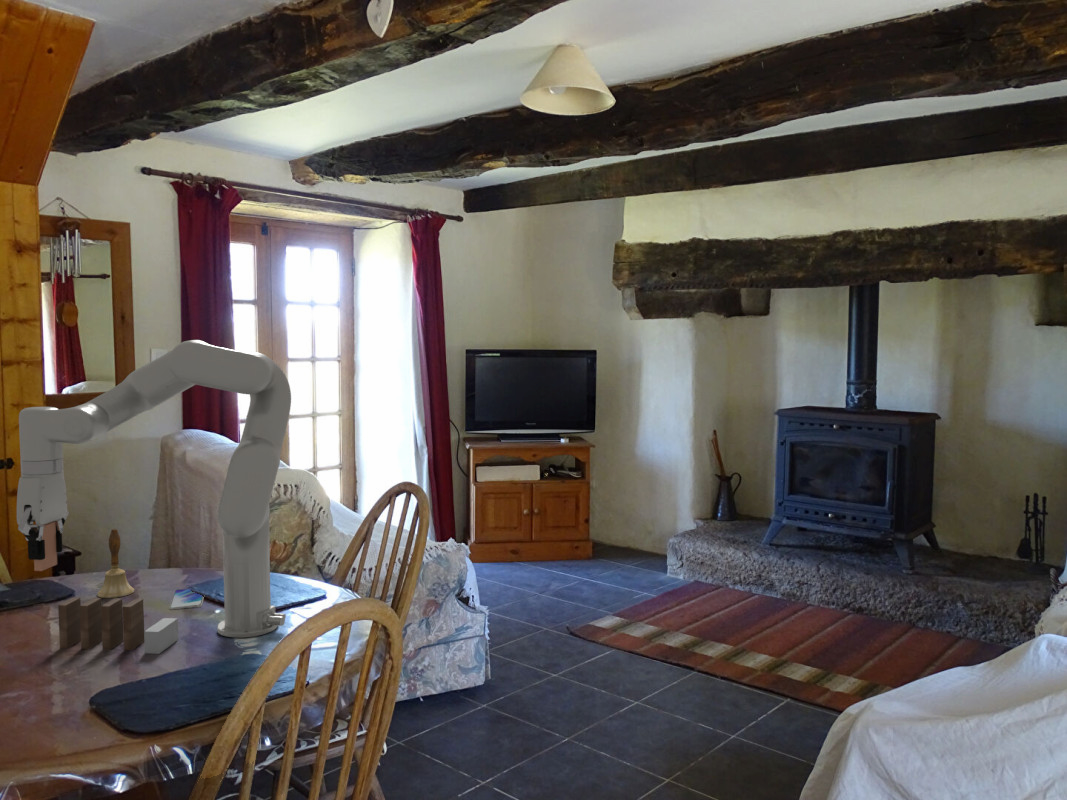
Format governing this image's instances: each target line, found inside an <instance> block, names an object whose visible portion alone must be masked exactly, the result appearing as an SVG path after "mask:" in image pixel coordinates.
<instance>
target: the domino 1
mask: <svg viewBox="0 0 1067 800" xmlns="http://www.w3.org/2000/svg"><path fill="white" fill-rule="evenodd" d="M33 529H34V530H35V531H36V532H37V528H33ZM42 540H45V559H43V560H33V567H34V569H33V570H34V572H43V571H45V570H47V569H49V568H51V567H54V566H57V565H58V553H57V552H56V523H55V522H51V523H48V524H45V525H44V529H43V537H42Z"/></svg>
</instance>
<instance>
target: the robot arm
mask: <svg viewBox="0 0 1067 800" xmlns="http://www.w3.org/2000/svg"><path fill="white" fill-rule="evenodd" d="M194 386H201V387H207V388H211V389H212V388H213V389H216V390H221V391H227V392H230V393H237V394H242V395H249V399H250V400H249V401H250V402H249V407H248V410H247V415H246V419H245V423H244V427H243V432H242V435H241V438H240V441H239V443H238V445H237V447H236V448H235V449H234V451H233V452H232V454H231V457H230V460H229V463H228V467H227V470H226V471H227V472H226V475H225V480H224V483H223V487H222V491H221V496H220V499H219V502H218V507H217V512H216V518H217V519H216V520H217V523H218V525H219V527H220V529H221V531H222V555H223V557H222V559H223V560H222V561H223V562H222V563H223V564H222V565H223V567H222V568H223V597H224V598H223V599H224V600H223V602H224V603H223V604H224V620H222V621H220V622H219V623H218V624H217V629H216V630H217V633H218V634H219V635H221V636H224V637H227V638H234V639H235V638H238V639H240V638H241V639H243V638H252V637H258V636H262V635H266V634H268V633H271V632H273V631H275V630H276V629H277V628H278V627H279V626H281V627H283V626H284V625H285V623H286V622H285V621H286V614H285V613H281V612H280V613H277V612H276V606H275V605H272V604H271V564H270V563H271V562H270V560H271V559H270V555H271V554H270V553H271V552H270V551H271V550H270V549H271V546H270V541H271V540H270V522H271V521H270V516H271V515H270V514H271V512H270V511H271V509H270V502H271V498H272V494H273V491H274V490H273V489H274V487H275V482H276V479H277V474H278V470H279V468H280V464H281V454H282V448H283V443H284V440H285V436H286V432H287V428H288V427H287V426H288V423H289V417H290V413H291V406H292V392H291V386H290V383H289V381H288V378H287V375H286V374H285V373H284V371H283V370H282V368H281V367H280V366H279V364H277V363H276V362H275V361H274V360H273V359H272V358H270V357H269V356H267V355H266V354H264V353H262V352H261V353H260V352H257V351H249V352H246V351H241V350H236V349H230V348H226V347H222V346H221V347H220V346H217V345H216V346H215V345H213V344H209V343H208V342H205V341H203V340H200V339H191V340H185V341H182V342H180V343H178V344H177V345H176V346H174V348H173V349H172V350H169V351H168V352H166V353H164V354H163V355H161V356H159V357H157V358H155V359H154V360H151V361H150V362H147V363H146V364H144V365H142V366H141V367H139V368H137V369H134V370H133V371H132V372H131V373H129V374H128V375H127V376H126V377H125V379H123V381H122V382H120V383H119V384H117V385H115V386H114V387H112V388H111V389H109V390H107V391H106V392H104V393H101V394H100V395H98V396H96V397H93V399H91V400H89V401H87V402H85V403H83V404H79V405H76V406H72V407H68V408H67V407H66V408H60V409H59V408H57V407H54V406H31V407H25V408H23V409H21V410H20V412H19V414H18V426H19V429H18V430H19V450H20V451H19V453H20V477H19V480H18V486H17V493H16V494H17V495H16V523H17V525H18V527H17V530H18V531H19V532H20V533H22V534H23V536H24V537H25V540H26V541H27V558H28V560H31V561H32V560H33V561H34V560H43V559H45V540H42V537H43V529H44V525H45V524H48V523H51V522H55V523H56V552H57V554H59V553H61V552H63V532H64V525H65V523H66V520H67V518H68V516H69V514H70V513H69V510H68V496H67V495H68V494H67V487H66V486H67V485H66V480H65V475H64V474H65V473H64V448H63V447H64V446H63V444H70V445H71V444H72V445H80V444H86V443H88V442H91V441H93V440H94V439H97V438H99V437H101V436H103V435H105V434H107V433H108V432H110V431H111V430H113V429H115V428H117V427H118V426H120V425H123V424H124V423H126V422H127V421H130V420H131V419H133V418H135V417H137V416H138V415H140V414H143V413H144V412H147V411H151V410H153V409H155V408H156V407H158V406H160V405H161V404H164V403H165V402H167V401H169V400H170V399H172V398H174V397H175V396H178V395H179V394H181V393H183V392H185V391H186V390H188V389H190V388H192V387H194ZM34 523H35V524H34ZM33 528H37V532H36V531H35V530H34V529H33Z"/></svg>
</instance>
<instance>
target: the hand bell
mask: <svg viewBox="0 0 1067 800" xmlns="http://www.w3.org/2000/svg"><path fill="white" fill-rule="evenodd" d="M108 548H109V552H110V554H111V559H110V562H111V563H110V569H109V570H108V571H106V572H104V573H105V574H104V580H103V584H102V587H101V589H100V590H98V591H97V593H96V596H97V598H101V599H102V598H103V599H115V598H122V597H126V596H128V595H131V594H133V593H134V592H135V588H134V587H132V586H131V585H130V583H129V581H128V580H127V576H126V575H127V574H126V571H125V570H124V569H121V568H120V565H119V561H120V560H119V552H120V549H121V537H120V534H119V531H118V528H111V531H110V534H109V538H108Z"/></svg>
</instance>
